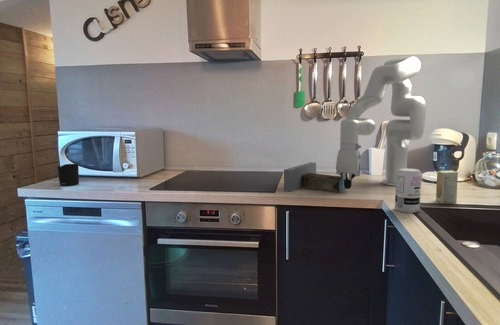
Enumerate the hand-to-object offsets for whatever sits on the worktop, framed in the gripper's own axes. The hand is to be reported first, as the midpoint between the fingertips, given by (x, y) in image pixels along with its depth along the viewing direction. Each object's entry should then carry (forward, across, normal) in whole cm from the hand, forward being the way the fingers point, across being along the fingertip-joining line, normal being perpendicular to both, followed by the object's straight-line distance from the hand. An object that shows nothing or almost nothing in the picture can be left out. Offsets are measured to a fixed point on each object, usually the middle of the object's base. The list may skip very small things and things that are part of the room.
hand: (347, 188), depth 161 cm
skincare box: (+2, -38, -5) cm, 39 cm away
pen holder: (+2, +124, +58) cm, 137 cm away
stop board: (+2, +23, 0) cm, 23 cm away
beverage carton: (+2, +12, -1) cm, 12 cm away
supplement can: (+2, -28, +17) cm, 33 cm away
